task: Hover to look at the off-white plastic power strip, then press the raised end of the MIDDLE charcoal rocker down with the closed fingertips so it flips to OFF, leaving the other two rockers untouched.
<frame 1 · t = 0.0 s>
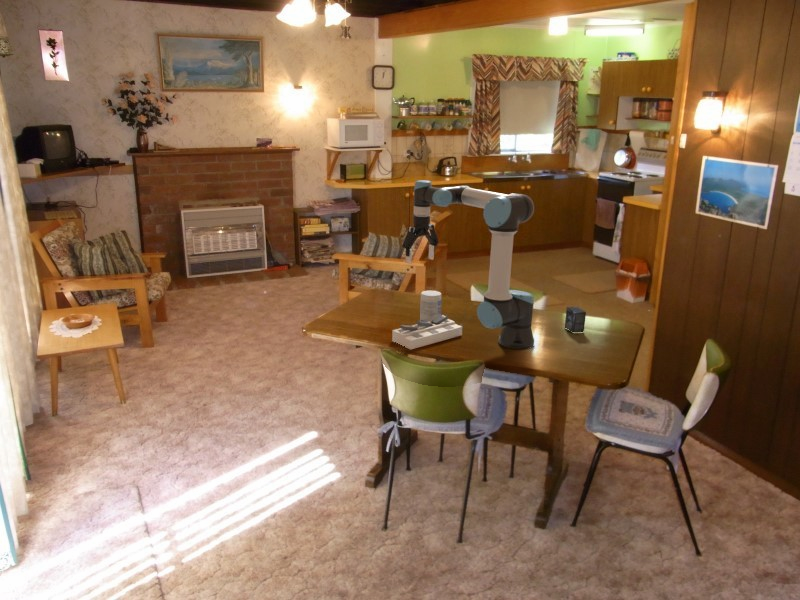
hand: (420, 261, 317), 28 cm above the table, fingers open, 13 cm apart
box: (573, 331, 315), on the table
rocker 3: (408, 327, 295), point 6 cm above the table, hinge at 14.0°
rocker 2: (424, 323, 301), point 6 cm above the table, hinge at 14.0°
supplement tub: (429, 323, 320), on the table
rocker 1: (439, 319, 307), point 6 cm above the table, hinge at -14.0°
power strip: (427, 338, 301), on the table
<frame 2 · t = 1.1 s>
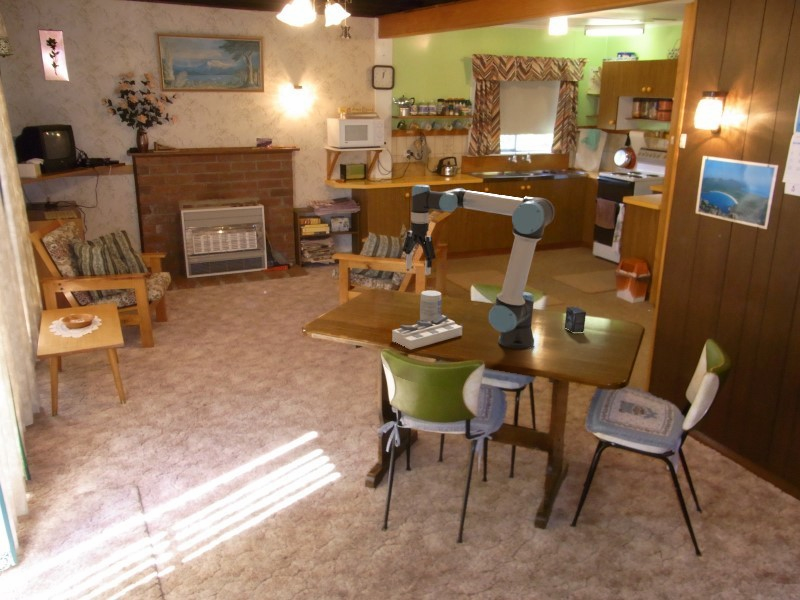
hand: (418, 271, 299), 28 cm above the table, fingers open, 12 cm apart
nothing on the table moved.
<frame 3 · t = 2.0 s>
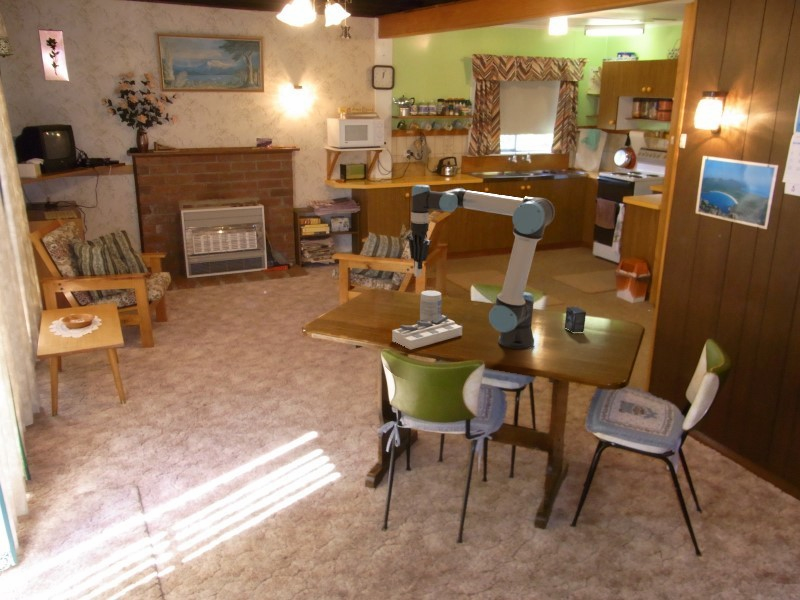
hand: (417, 275, 299), 26 cm above the table, fingers closed
nothing on the table moved.
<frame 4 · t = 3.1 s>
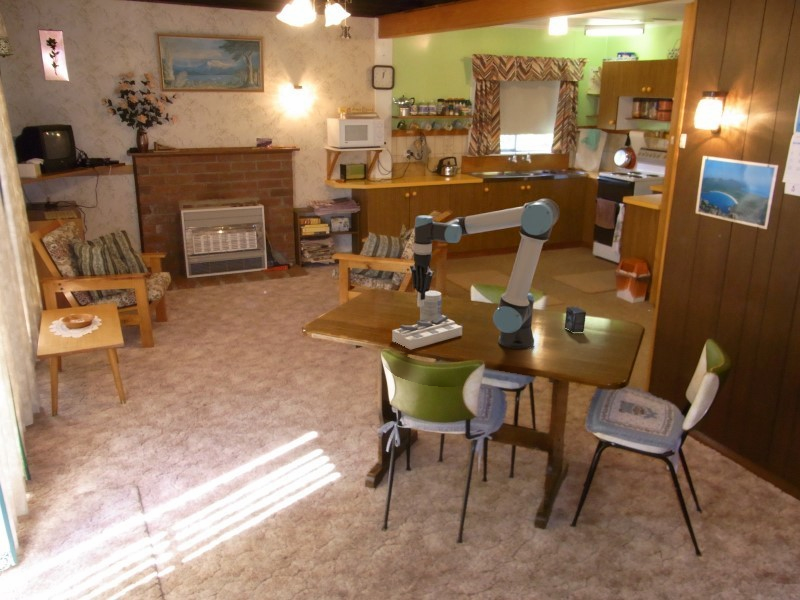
hand: (420, 306, 297), 14 cm above the table, fingers closed
nothing on the table moved.
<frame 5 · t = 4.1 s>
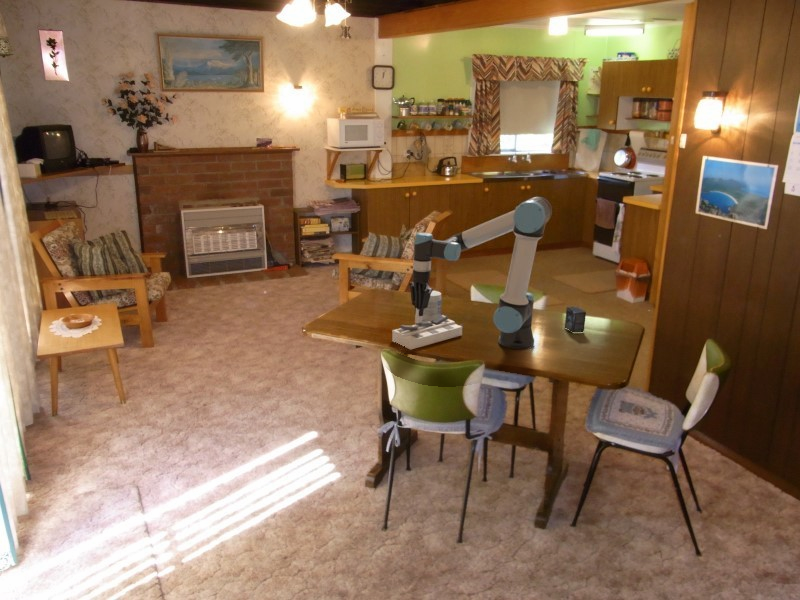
hand: (418, 322, 299), 7 cm above the table, fingers closed
rocker 2: (424, 323, 301), point 6 cm above the table, hinge at 10.9°, touching gripper
everything else where it was.
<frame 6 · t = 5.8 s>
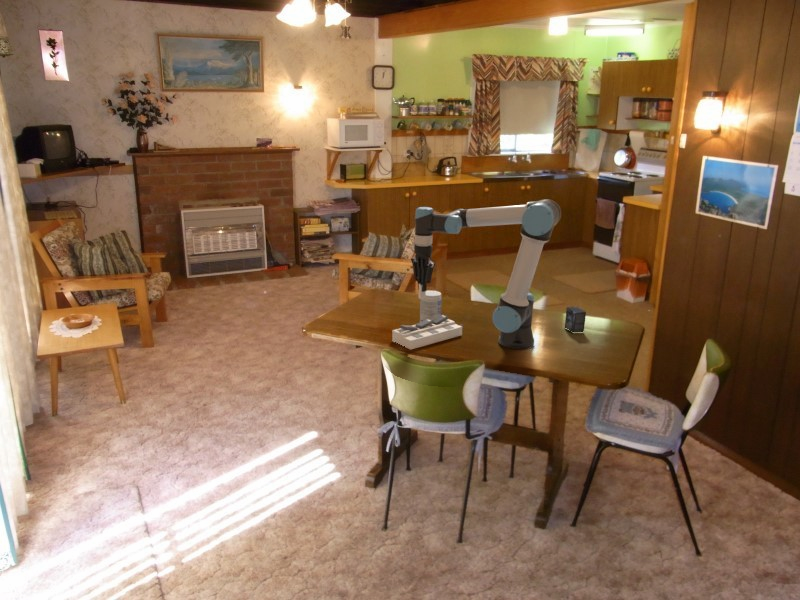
hand: (421, 298, 297), 18 cm above the table, fingers closed
rocker 2: (424, 323, 301), point 6 cm above the table, hinge at -9.0°
everything else where it was.
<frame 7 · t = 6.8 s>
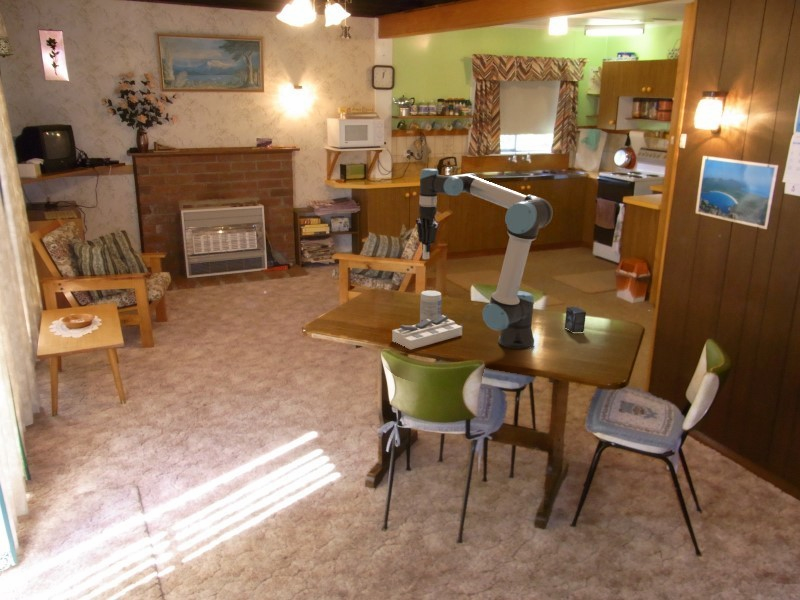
hand: (425, 258, 304), 32 cm above the table, fingers closed
rocker 2: (424, 323, 301), point 6 cm above the table, hinge at -12.7°
everything else where it was.
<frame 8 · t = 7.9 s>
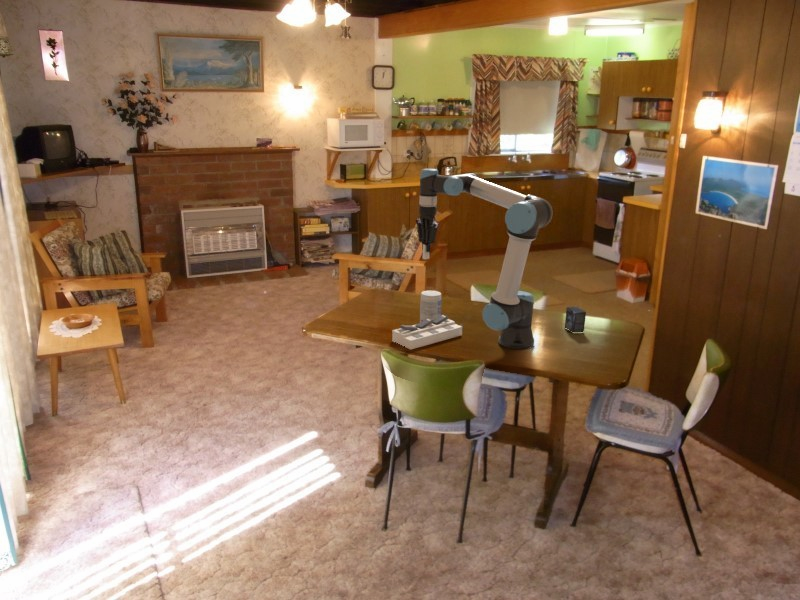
hand: (425, 258, 304), 32 cm above the table, fingers closed
rocker 2: (424, 323, 301), point 6 cm above the table, hinge at -15.0°
everything else where it was.
at the end: rocker 2 at -15° (first picture: +14°); rocker 3 at +14° (first picture: +14°); rocker 1 at -14° (first picture: -14°) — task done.
